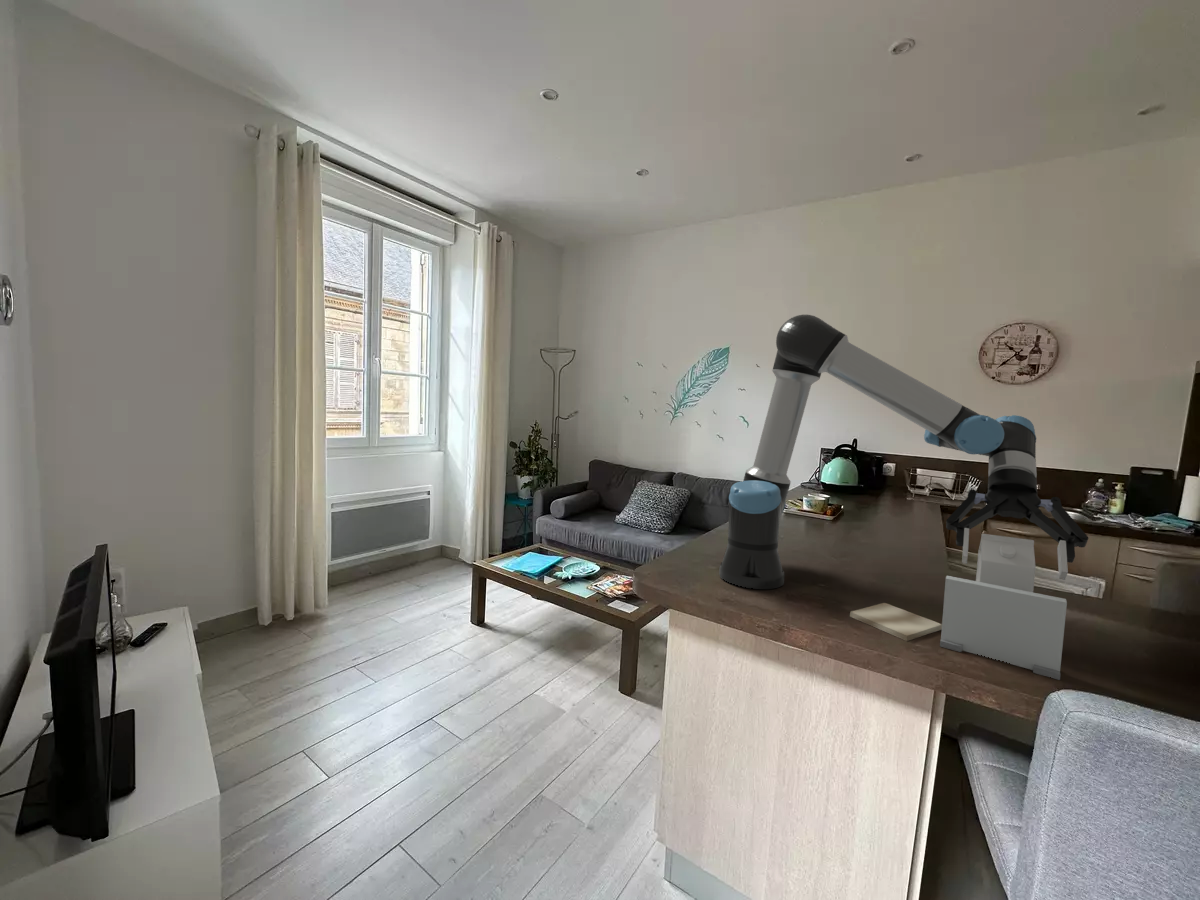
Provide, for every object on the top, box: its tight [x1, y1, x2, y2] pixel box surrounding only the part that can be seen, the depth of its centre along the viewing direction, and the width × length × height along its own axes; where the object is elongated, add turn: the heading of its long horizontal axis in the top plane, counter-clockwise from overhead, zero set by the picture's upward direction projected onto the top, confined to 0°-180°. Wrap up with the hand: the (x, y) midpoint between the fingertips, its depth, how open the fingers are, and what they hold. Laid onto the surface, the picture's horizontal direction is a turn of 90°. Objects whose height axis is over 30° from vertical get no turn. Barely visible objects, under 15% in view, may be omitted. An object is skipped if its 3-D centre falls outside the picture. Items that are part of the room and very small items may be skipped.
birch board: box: [849, 602, 942, 642], centre depth 90 cm, size 11×11×1 cm
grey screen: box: [939, 575, 1068, 681], centre depth 77 cm, size 15×4×12 cm, turn 48°
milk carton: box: [975, 533, 1036, 593], centre depth 83 cm, size 7×7×19 cm
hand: (1011, 567), depth 85 cm, fingers open, 13 cm apart
